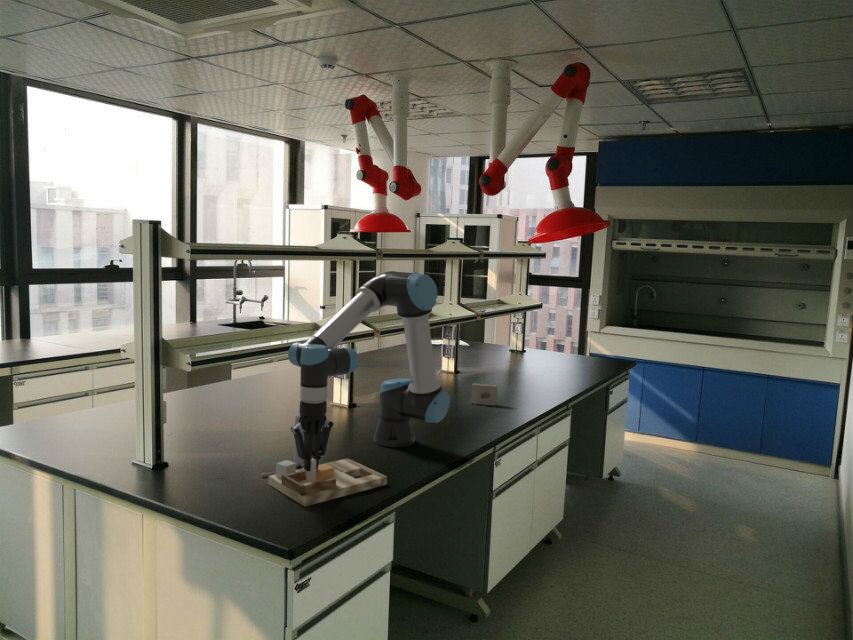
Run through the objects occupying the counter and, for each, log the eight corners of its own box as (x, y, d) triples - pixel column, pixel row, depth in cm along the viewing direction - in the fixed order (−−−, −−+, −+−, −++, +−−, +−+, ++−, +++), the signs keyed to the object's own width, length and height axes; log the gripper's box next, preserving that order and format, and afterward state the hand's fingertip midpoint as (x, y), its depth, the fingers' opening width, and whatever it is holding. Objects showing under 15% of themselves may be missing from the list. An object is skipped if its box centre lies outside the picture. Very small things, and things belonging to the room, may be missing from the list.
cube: (324, 478, 190) (325, 463, 190) (333, 482, 187) (334, 467, 187) (311, 481, 187) (312, 466, 187) (320, 486, 184) (321, 470, 184)
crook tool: (292, 472, 201) (292, 468, 201) (296, 476, 198) (296, 472, 198) (260, 477, 196) (260, 473, 196) (264, 481, 193) (265, 477, 193)
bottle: (315, 462, 211) (317, 402, 209) (312, 469, 204) (314, 407, 202) (294, 461, 211) (296, 401, 208) (291, 468, 204) (293, 406, 202)
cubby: (314, 476, 192) (314, 467, 191) (335, 487, 184) (336, 478, 183) (281, 483, 184) (281, 475, 184) (302, 495, 176) (302, 487, 176)
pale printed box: (470, 404, 301) (472, 384, 300) (471, 402, 305) (472, 382, 303) (496, 406, 299) (498, 386, 298) (497, 404, 303) (498, 384, 302)
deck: (347, 465, 209) (348, 457, 209) (386, 484, 195) (387, 475, 194) (268, 484, 190) (268, 475, 190) (304, 506, 176) (305, 497, 175)
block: (285, 472, 193) (286, 459, 193) (295, 476, 191) (296, 462, 190) (276, 476, 190) (276, 463, 189) (285, 479, 188) (286, 466, 187)
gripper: (325, 394, 189) (322, 472, 192) (285, 400, 180) (283, 481, 183) (340, 400, 183) (337, 480, 186) (300, 406, 175) (297, 490, 177)
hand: (310, 480), depth 184 cm, fingers closed
